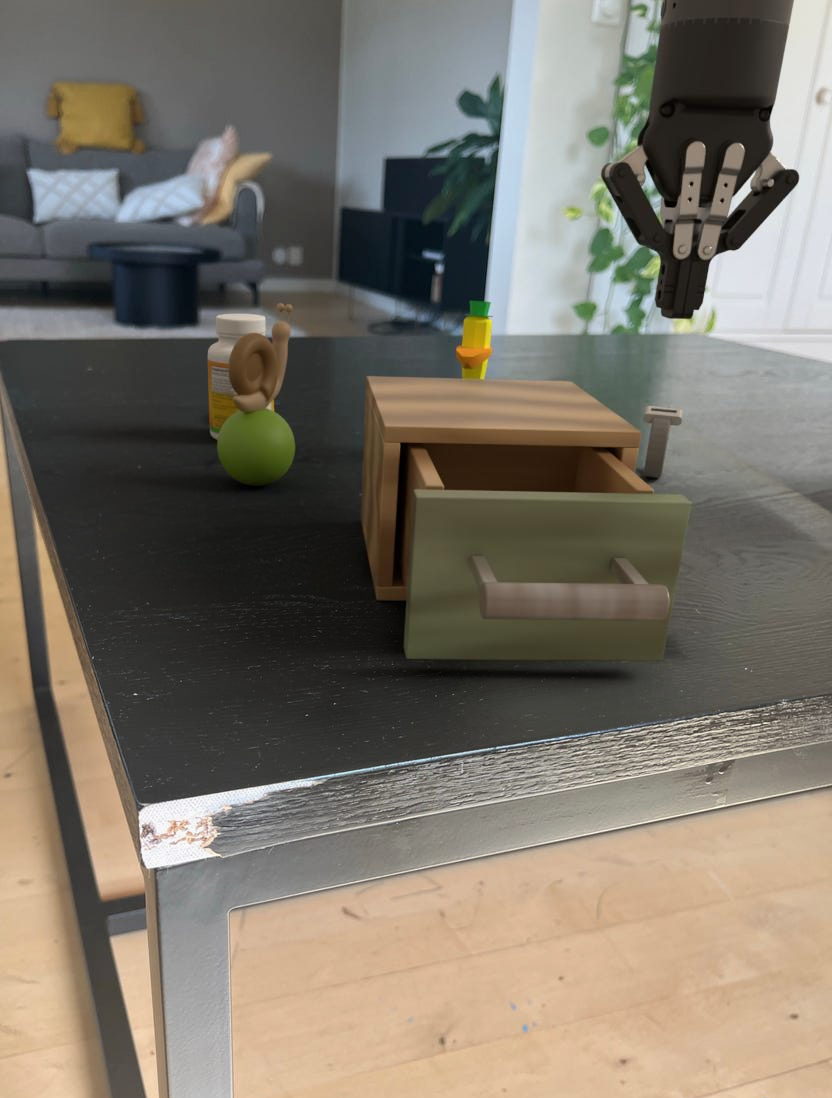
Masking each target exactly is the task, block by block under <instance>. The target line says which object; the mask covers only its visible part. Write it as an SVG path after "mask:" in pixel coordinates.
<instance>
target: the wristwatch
mask: <svg viewBox="0 0 832 1098" xmlns="http://www.w3.org/2000/svg"><path fill="white" fill-rule="evenodd" d="M642 421H643V422H644V423H646V424H651V427H650V432H649V437H648V438H649V439H648V444H647V449H646V451H647V452H646V456H645V461H644V469H643V476H644V477H647V478H648V477H649V478H656V479H657V478H658V479H660V478H662V475H663V471H664V465H665V459H666V454H667V447H668V440H669V435H670V429H671V426H674V427H675V426H677V427H678V426H680V425H681V424H682V421H683V410H682V409H681V408H676V407H665V406H656V405H655V406H654V405H647V406H646V407H645V409H644V412H643V416H642Z"/></svg>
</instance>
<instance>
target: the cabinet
mask: <svg viewBox="0 0 832 1098" xmlns="http://www.w3.org/2000/svg"><path fill="white" fill-rule="evenodd" d="M365 380H366V381H365V404H364V405H365V406H364V429H363V430H364V431H363V455H362V457H363V458H362V480H361V481H362V482H361V504H360V505H361V507H360V508H361V510H360V521H361V526H362V533H363V537H364V543H365V547H366V552H367V558H368V563H369V568H370V573H371V578H372V583H373V588H374V595H375V599H376V601H391V602H392V601H393V602H394V601H397V602H398V601H400V602H407V592H406V589H405V585H404V581H403V578H402V574H401V570H400V567H399V563H398V559H397V556H396V549H397V532H398V514H399V497H400V479H401V461H402V444H403V443H444V444H489V445H535V446H580V447H604V448H605V449H607V450H608V451H609V452H610V453H611V454H612V455H614V456H615V457H616V458H617V459H618V460H619V461H621V462H622V463H623V464H624V465H625V466H626V467H628V468H629V469H630V470H631V471H632V472H633V473H635V474H636V468H637V463H638V456H639V450H640V449H639V448H640V444H641V437H642V431H641V430H639V429H638V428H637V427H636V426H633V425H632V424H631V423H630V422H628V421H627V420H626V419H624V418H623V417H621V416H619V415H618V414H617V413H616V412H614V411H613V410H611V409H610V408H609V407H607V406H606V405H604V404H603V403H602V402H600V401H599V400H597V399H596V398H595V397H593V396H592V395H591V394H589V393H587V392H586V391H585V390H583V389H582V388H580V387H579V386H578V385H577V384H575V383H574V382H572V381H570V380H568V381H566V380H559V381H558V380H533V379H532V380H527V379H525V380H524V379H496V378H495V379H494V378H493V379H491V378H488V379H487V378H484V379H462V378H456V377H455V378H451V377H417V376H416V377H413V376H379V375H378V376H377V375H367V376H366V379H365Z"/></svg>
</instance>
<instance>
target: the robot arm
mask: <svg viewBox="0 0 832 1098" xmlns="http://www.w3.org/2000/svg"><path fill="white" fill-rule="evenodd" d="M794 3H795V0H662V2H661V6H660V27H659V28H660V29H659V33H658V40H657V41H658V43H657V47H656V48H657V49H656V55H655V62H654V71H653V76H652V77H653V78H652V85H651V90H650V99H649V109H648V116H647V119H646V122H645V124H644V125H643V126H642V128H641V130H640V131H639V133H638V136H637V141H636V146H635V147H634V148H633V149H632V150H630V151H629V152H627V153H626V154H625V155H623V156H622V157H621V158H620V159H618V160H617V161H616V162H608V163H606V164H604V165H603V167H602V169H601V171H600V178H601V179H602V181H603V183H604V185H605V187H606V188H607V190H608V193H609V194H610V197H611V198H612V199H613V201H614V203H615V205H616V207H617V208H618V210H619V212H620V214H621V216H622V217H623V220H624V221H625V223H626V225H627V227H628V228H629V231H630V232H631V234H632V236H633V238H634V240H635V241H636V244H638V245H639V246H642V247H645V248H648V249H649V250H652V251H654V252H656V253H657V254H658V256H659V259H660V263H659V270H658V274H657V275H658V277H657V283H656V288H655V295H654V302H655V306H656V308H658V309H660V315H661V317H663V318H666V319H669V320H671V319H672V320H675V319H676V320H691V319H692V318H693V316H694V313H695V311H699V310H700V309H701V307H702V305H703V303H704V299H705V292H706V286H707V280H708V275H709V270H710V264H711V262H712V260H713V259H714V258H715V257H716V256H718V255H719V254H723V253H725V252H729V251H732V252H734V251H735V252H736V251H738V250H739V249H741V248H742V246H744V245H745V243H746V242H747V241H748V240H749V239H750V237H751V236H753V234H755V232H756V231H757V230H758V229H759V228H760V226H761V225H762V224H763V223H764V222H765V221H766V220H767V219H768V218H769V217H770V215H771V214H772V213H773V212H774V211H775V210H776V209H777V208H778V206H780V204H781V203H782V202H784V201H785V199H786V198H787V197H788V196H789V194H791V192H792V191H793V190H794V189H795V188H796V187H797V185H799V181H800V174H799V172H798V170H796V169H793V168H787V167H786V166H785V165H783V163H782V161H780V160H779V158H778V157H777V156H776V155H775V154H774V153H773V151H772V150H773V147H774V134H773V132H772V128H771V116H772V112H773V110H774V106H775V104H776V99H777V94H778V89H779V85H780V83H779V82H780V78H781V72H782V67H783V61H784V56H785V50H786V46H787V40H788V35H789V29H790V23H791V18H792V12H793V9H794ZM645 167H646V170H647V172H648V174H649V176H650V178H651V180H652V183H653V185H654V187H655V189H656V191H657V192H658V194H659V195H660V196H661V199H660V210H659V217H660V219H659V217H658V215H657V214H656V211H655V210H654V208H653V205H652V203H651V202H650V200H649V198H648V196H647V195H646V193H645V191H644V188H643V186H644V184H645V183H646V180H647V179H646V178H647V175H646V172H645ZM752 176H753V177H752ZM751 177H752V178H751ZM750 178H751V180H750V185H749V186H750V192H748V193H747V195H746V196H745V197H744V198H743V199H742V200H741V201H740V203H739V204H738V205H737V206H736V207H735V208H734V209H733V211H731V213H730V208H731V205H732V201H733V200H732V199H733V198H734V197H735V196H736V195H738V193H739V191H740V190H741V189H742V188H743V186H745V184H746V183H747V182H748V180H749V179H750ZM729 213H730V214H729ZM660 220H661V221H660Z"/></svg>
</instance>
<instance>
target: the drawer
mask: <svg viewBox="0 0 832 1098" xmlns="http://www.w3.org/2000/svg"><path fill="white" fill-rule="evenodd" d="M691 509H692V502H691V501H690V500H689V499H688V498H687V497H685V496H684V495H683V494H680V493H679V494H678V493H677V494H676V493H655V490H654V488H652V486H650V485H649V484H648V483H647V482H645V481H644V480H643V479H642V478H641V477H640V476H638V475H637V474H636V472H635V473H633V472H632V471H631V470H630V469H629V468H628V467H626V466H625V465H624V464H623V463H622V462H621V461H619V460H618V459H617V458H616V457H615V456H614V455H612V454H611V453H610V452H609V451H608V450H607V449H605V448H604V447H580V446H535V445H489V444H444V443H403V444H402V461H401V479H400V497H399V514H398V532H397V549H396V556H397V559H398V563H399V567H400V570H401V574H402V578H403V581H404V585H405V589H406V592H407V601H405V602H406V604H405V619H404V633H403V635H404V637H403V649H404V650H403V651H404V654H405V659H407V660H452V661H453V660H457V661H461V660H462V661H463V660H464V661H467V660H468V661H469V660H470V661H478V660H479V661H566V662H567V661H568V662H569V661H571V662H573V661H574V662H575V661H577V662H579V661H583V662H584V661H585V662H586V661H587V662H589V661H590V662H663V660H664V655H665V649H666V643H667V639H668V632H669V628H670V627H669V626H670V622H671V616H672V612H673V607H674V601H675V594H676V591H677V590H676V589H677V584H678V578H679V573H680V568H681V564H682V563H681V562H682V557H683V552H684V545H685V541H686V537H687V536H686V535H687V530H688V524H689V519H690V515H691Z"/></svg>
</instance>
